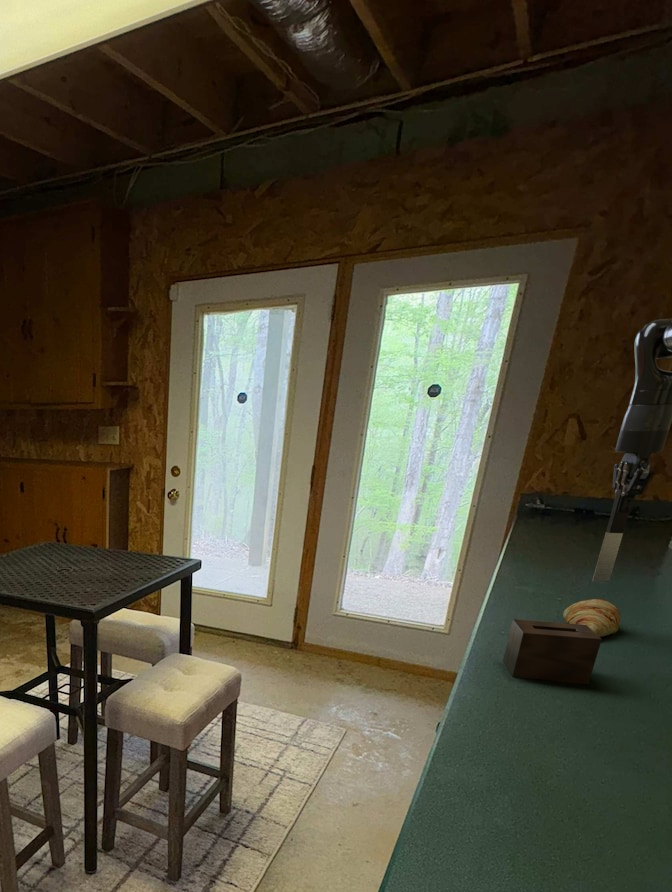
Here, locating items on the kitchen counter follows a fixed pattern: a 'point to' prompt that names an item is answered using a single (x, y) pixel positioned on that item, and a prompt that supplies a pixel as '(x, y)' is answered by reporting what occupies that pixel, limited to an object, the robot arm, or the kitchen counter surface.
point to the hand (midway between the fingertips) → (620, 513)
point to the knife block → (551, 651)
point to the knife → (610, 543)
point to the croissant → (594, 616)
